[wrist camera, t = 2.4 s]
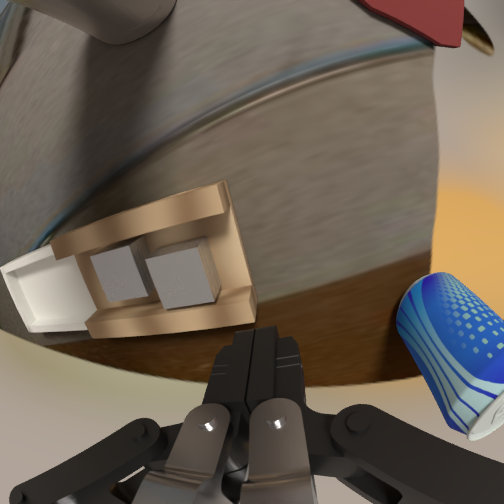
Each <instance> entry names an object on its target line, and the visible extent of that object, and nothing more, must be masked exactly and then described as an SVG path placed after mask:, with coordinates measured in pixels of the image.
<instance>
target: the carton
mask: <svg viewBox="0 0 504 504" xmlns="http://www.w3.org/2000/svg"><path fill="white" fill-rule="evenodd" d="M358 1H359V2H360V3H362V4H363V5H364V6H365V7H366V8H368V9H369V10H370V11H372V12H374V13H377V14H379V15H381V16H383V17H386V18H388V19H390V20H392V21H394V22H396V23H398V24H400V25H402V26H404V27H406V28H408V29H410V30H411V31H413V32H415V33H417V34H419V35H420V36H422V37H424V38H425V39H427V40H429V41H430V42H432V43H434V44H435V46H439V47H447V48H457V47H460V45H461V37H462V28H463V15H464V0H358Z"/></svg>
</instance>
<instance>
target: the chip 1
mask: <svg viewBox="0 0 504 504" xmlns="http://www.w3.org/2000/svg"><path fill="white" fill-rule="evenodd" d="M149 255H151V252H150V249H149V246H148V243H147V240H146V237H145V235H142V236H138V237H135V238H131V239H128V240H125V241H121V242H118V243H114V244H111V245H108V246H106V247H104V248H103V249H101V250H99V251H98V252H96V253H95V254H93V255H92V256H90V258H91V261H92V263H93V266H94V269H95V271H96V274H97V276H98V278H99V281H100V283H101V286H102V288H103V290H104V292H105V295H106V297H107V299H108V301H109V302H114V301H121V300H127V299H133V298H140V297H146V296H149V295H150V293H151V292H152V291H153V290H154V289H155V285H154V282H153V280H152V277H151V274H150V272H149V269H148V266H147V264H146V261H145V259H146V258H147V257H148V256H149Z"/></svg>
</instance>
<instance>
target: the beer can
mask: <svg viewBox="0 0 504 504" xmlns="http://www.w3.org/2000/svg"><path fill="white" fill-rule="evenodd" d="M396 326H397V330H398V333H399V334H400V336H401V338H402V339H403V341H404V343H405V345H406V346H407V348H408V350H409V352H410V353H411V355H412V357H413V359H414V360H415V362H416V364H417V366H418V368H419V369H420V371H421V373H422V375H423V377H424V379H425V381H426V383H427V384H428V386H429V388H430V390H431V392H432V394H433V396H434V398H435V400H436V402H437V404H438V406H439V408H440V410H441V412H442V414H443V417H444V419H445V421H446V423H447V424H448V426H449V427H450V428H452V429H454V430H456V431H459V432H461V433H464V434H466V435H467V439H468V440H469V441H475V440H478V439H481V438H483V437H485V436H487V435H488V434H490V433H491V432H493V431H494V430H495V429H497V428H498V427H500V426H501V425H502V424H503V423H504V321H503V320H502V319H501V318H500V317H499V316H498V315H497V314H496V313H495V312H494V311H493V310H492V309H491V308H490V307H488V306H487V305H486V304H485V303H484V302H483V301H482V300H481V299H480V298H479V297H477V296H476V295H475V294H474V293H473V292H472V291H471V290H469V289H468V288H467V287H466V286H465V285H464V284H462V283H461V282H460V281H459V280H458V279H456V278H455V277H454V276H453V275H451V274H449V273H445V272H437V273H433V274H430V275H426V276H423V277H421V278H420V279H418V280H417V281H415V282H414V283H413V284H412V285H411V286H410V287H409V288H408V289H407V291H406V292H405V294H404V295H403V297H402V299H401V302H400V305H399V309H398V312H397V317H396Z"/></svg>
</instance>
